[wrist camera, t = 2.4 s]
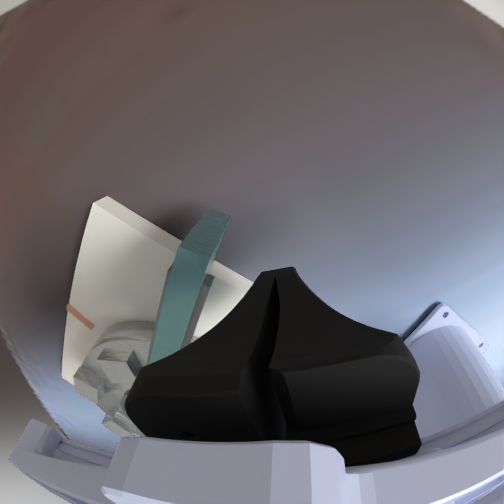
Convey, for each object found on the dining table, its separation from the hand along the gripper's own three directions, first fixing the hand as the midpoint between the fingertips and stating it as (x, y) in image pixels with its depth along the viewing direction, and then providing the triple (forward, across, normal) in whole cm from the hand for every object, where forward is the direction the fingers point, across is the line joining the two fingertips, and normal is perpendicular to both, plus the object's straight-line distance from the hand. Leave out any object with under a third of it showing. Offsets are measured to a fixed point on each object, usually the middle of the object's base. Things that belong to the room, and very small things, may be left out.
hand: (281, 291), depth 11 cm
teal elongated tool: (+2, +7, +4) cm, 9 cm away
